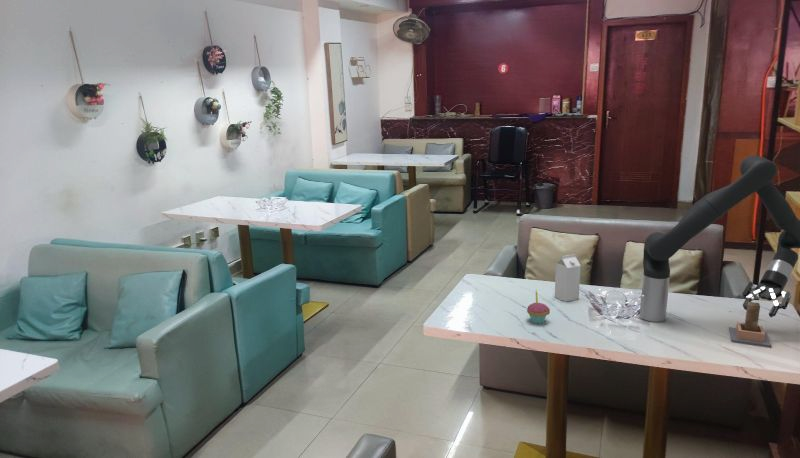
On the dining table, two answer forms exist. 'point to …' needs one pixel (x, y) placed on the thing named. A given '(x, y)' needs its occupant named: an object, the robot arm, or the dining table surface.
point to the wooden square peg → (752, 316)
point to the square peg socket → (749, 336)
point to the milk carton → (567, 278)
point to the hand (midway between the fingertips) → (757, 312)
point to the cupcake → (538, 311)
